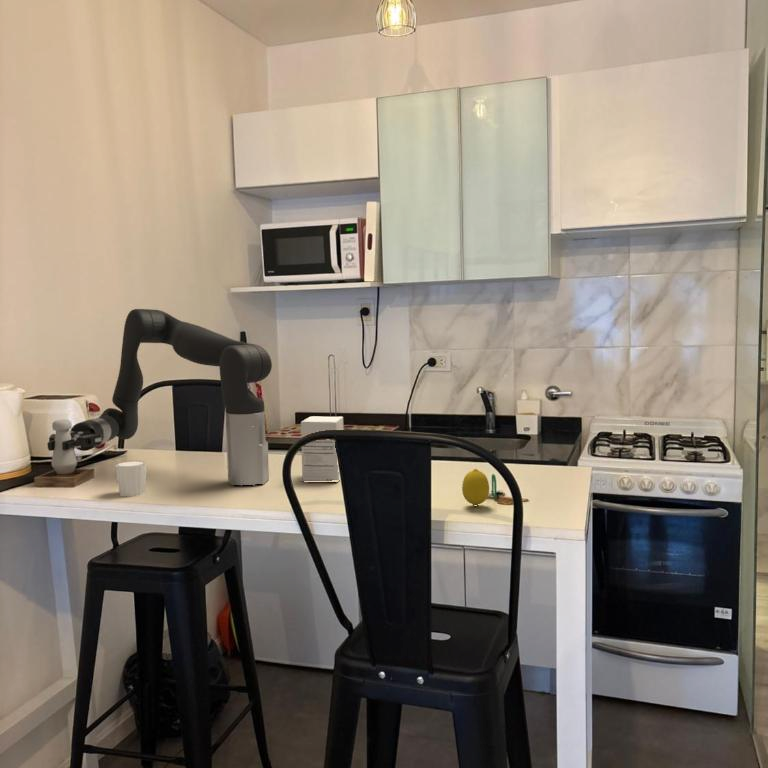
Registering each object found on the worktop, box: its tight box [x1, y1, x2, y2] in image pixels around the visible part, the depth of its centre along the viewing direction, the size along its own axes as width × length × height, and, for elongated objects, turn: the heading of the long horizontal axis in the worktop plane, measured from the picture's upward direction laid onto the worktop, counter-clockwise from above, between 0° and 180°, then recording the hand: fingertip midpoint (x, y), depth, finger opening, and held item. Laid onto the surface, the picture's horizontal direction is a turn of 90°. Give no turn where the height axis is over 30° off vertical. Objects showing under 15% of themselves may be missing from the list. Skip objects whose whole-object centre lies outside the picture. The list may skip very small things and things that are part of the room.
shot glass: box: [114, 460, 147, 497], centre depth 167 cm, size 7×7×7 cm
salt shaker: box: [50, 419, 78, 474], centre depth 180 cm, size 6×6×13 cm
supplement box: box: [300, 415, 344, 482], centre depth 178 cm, size 9×9×15 cm
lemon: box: [461, 468, 490, 506], centre depth 151 cm, size 6×6×8 cm
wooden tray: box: [33, 468, 95, 488], centre depth 180 cm, size 10×10×2 cm
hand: (56, 446), depth 177 cm, fingers closed on salt shaker, 3 cm apart
